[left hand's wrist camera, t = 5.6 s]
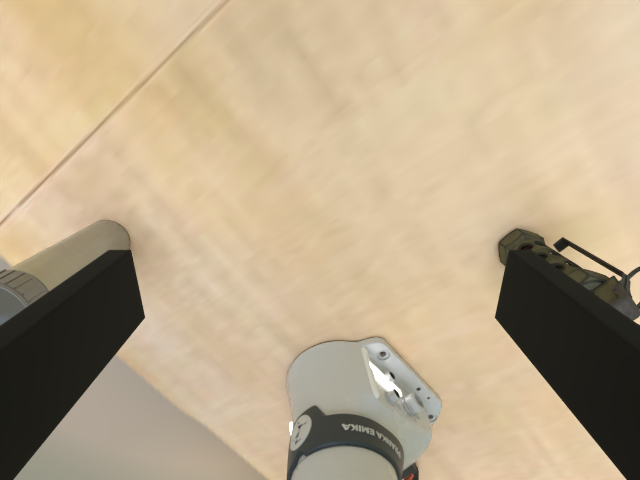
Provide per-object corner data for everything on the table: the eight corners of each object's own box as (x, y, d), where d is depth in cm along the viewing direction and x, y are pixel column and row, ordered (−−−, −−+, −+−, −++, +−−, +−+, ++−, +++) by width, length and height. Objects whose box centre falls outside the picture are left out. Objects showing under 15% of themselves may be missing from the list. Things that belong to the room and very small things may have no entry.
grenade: (510, 284, 44) (599, 369, 30) (483, 253, 42) (563, 327, 28) (574, 238, 42) (702, 306, 28) (547, 203, 40) (669, 257, 26)
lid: (-7, 321, 30) (-34, 339, 28) (-21, 264, 28) (-51, 278, 26) (57, 327, 30) (36, 345, 28) (47, 271, 29) (24, 286, 26)
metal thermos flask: (91, 255, 43) (-26, 332, 28) (86, 217, 41) (-40, 279, 27) (131, 259, 43) (36, 338, 28) (128, 222, 41) (25, 286, 27)
